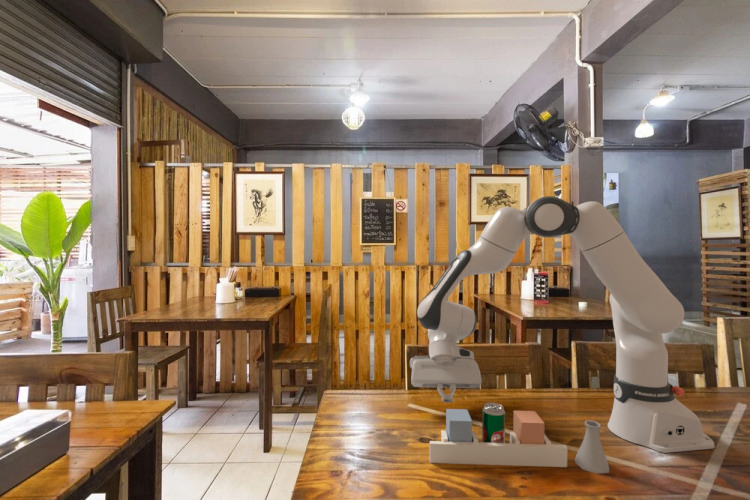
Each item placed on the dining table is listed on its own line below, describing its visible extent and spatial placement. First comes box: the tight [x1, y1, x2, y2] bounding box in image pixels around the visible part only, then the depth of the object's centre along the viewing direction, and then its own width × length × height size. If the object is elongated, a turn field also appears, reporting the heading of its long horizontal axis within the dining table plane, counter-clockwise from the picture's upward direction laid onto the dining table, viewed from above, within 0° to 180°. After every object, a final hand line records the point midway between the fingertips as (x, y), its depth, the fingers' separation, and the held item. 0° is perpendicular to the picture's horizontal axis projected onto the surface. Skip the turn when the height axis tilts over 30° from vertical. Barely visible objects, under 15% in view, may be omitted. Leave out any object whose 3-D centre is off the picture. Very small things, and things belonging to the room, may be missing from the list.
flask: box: [574, 419, 610, 475], centre depth 86 cm, size 7×7×10 cm
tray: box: [429, 429, 568, 468], centre depth 94 cm, size 30×17×6 cm, turn 87°
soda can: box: [481, 402, 506, 443], centre depth 90 cm, size 5×5×12 cm
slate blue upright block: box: [445, 408, 473, 442], centre depth 91 cm, size 5×7×9 cm
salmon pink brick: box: [512, 410, 545, 444], centre depth 90 cm, size 5×7×9 cm
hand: (447, 401), depth 109 cm, fingers closed
